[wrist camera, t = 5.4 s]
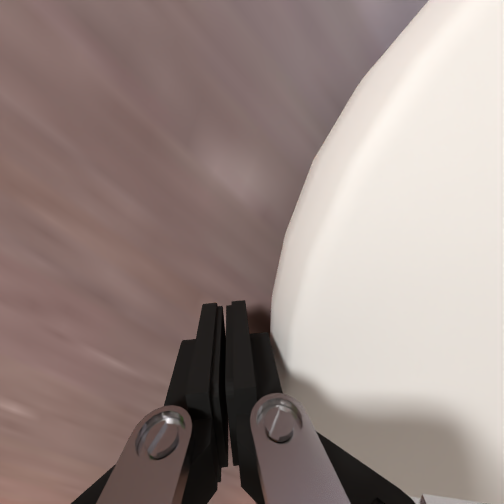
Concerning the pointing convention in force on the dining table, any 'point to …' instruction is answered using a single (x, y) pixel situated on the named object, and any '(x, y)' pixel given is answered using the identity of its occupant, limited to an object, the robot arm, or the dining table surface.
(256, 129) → the dining table surface
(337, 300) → the plate
